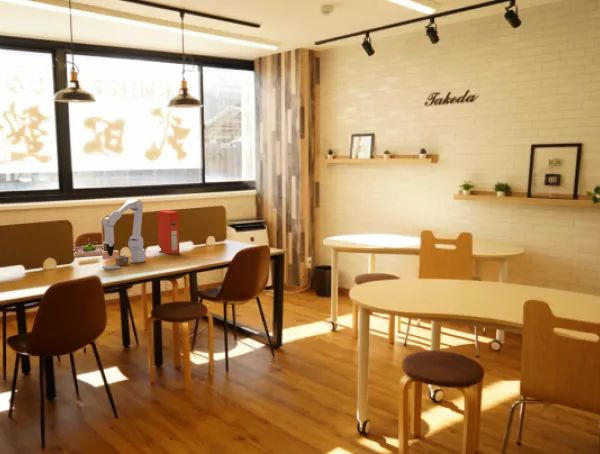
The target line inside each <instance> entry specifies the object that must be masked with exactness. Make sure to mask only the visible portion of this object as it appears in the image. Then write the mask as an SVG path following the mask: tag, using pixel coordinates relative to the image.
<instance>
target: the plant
mask: <svg viewBox="0 0 600 454" xmlns="http://www.w3.org/2000/svg"><path fill="white" fill-rule="evenodd" d="M87 241H88V244H86V245H83V246H84V247H85V249H78V250H77V251H76V253H78V252H91V251H103V249H102V248H98V247H96V246H97V245H98V242H97V241H92V243H91V240H90V238H87ZM94 244H95V245H94ZM86 246H87V247H86Z"/></svg>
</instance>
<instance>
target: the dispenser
mask: <svg viewBox="0 0 600 454" xmlns="http://www.w3.org/2000/svg"><path fill="white" fill-rule="evenodd" d="M115 265H119V266H120V267H121V265H122V266H129V256H128V255H127V254H126V255H119V258H118V259H115Z"/></svg>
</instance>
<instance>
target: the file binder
mask: <svg viewBox="0 0 600 454" xmlns="http://www.w3.org/2000/svg"><path fill="white" fill-rule="evenodd" d="M179 220H180V219H179V212H178V211H174V210H169V209H163V210H157V234H158V248H159V247H160V248H161V251H162V252H163V254H167V255H170V256H173V255H177V254H180V225H179V224H180V223H179V222H180V221H179ZM162 252H161V253H162Z"/></svg>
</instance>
